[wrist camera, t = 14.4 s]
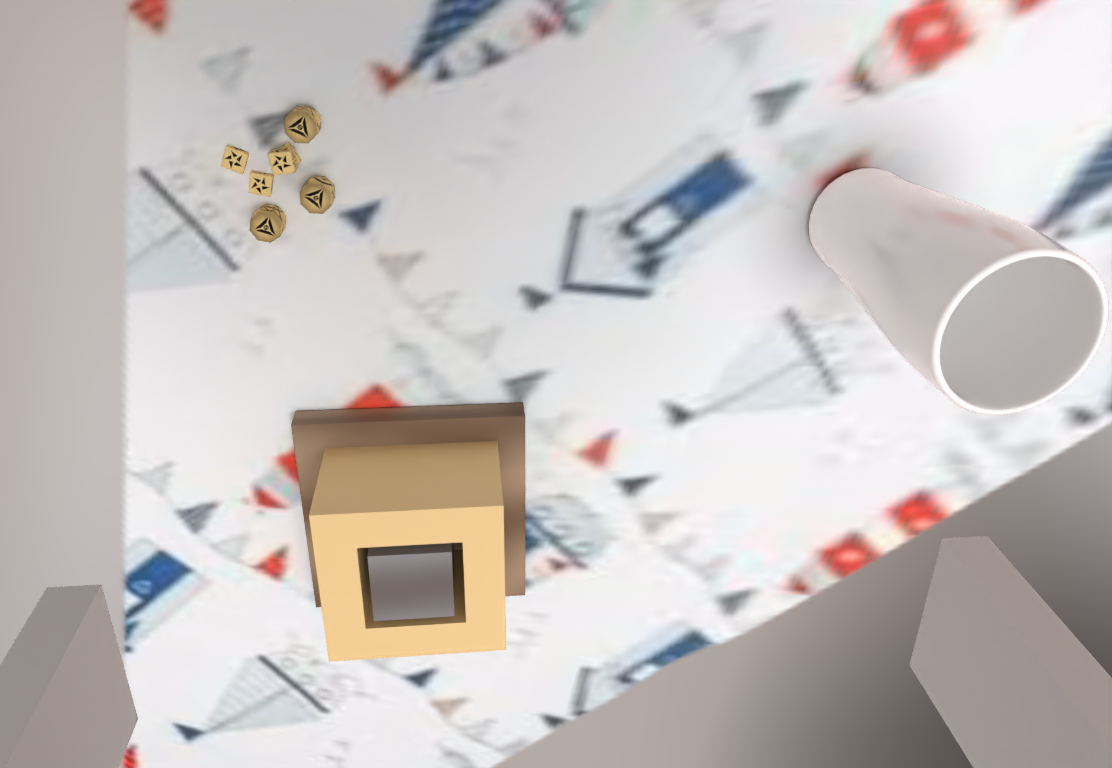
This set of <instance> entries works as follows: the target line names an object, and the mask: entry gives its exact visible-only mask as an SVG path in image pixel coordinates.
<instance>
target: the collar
mask: <svg viewBox="0 0 1112 768" xmlns="http://www.w3.org/2000/svg"><path fill="white" fill-rule="evenodd" d="M309 520H310V527H311V534H312V542H313V549H314V556H315V563H316V571H317V578H318V585H319V592H320V600H321V607H322V614H323V621H324V629H325V636H326V643H327V651H328V658H329V662H330V661H345V660H360V659H375V658H390V657H405V656H420V655H435V654H450V653H465V652H480V651H495V650H506V613H505V557H504V505H503V494H502V483H501V473H500V462H499V451H498V441H486V442H463V443H440V444H417V445H394V446H371V447H349V448H326V449H325V450H324V454H323V458H322V463H321V467H320V471H319V475H318V480H317V484H316V488H315V492H314V496H313V501H312V505H311V509H310V513H309ZM460 542H463V549H461V550H454V603H455V616H450V617H433V618H417V619H400V620H384V621H374V617H373V608H372V598H371V588H370V578H369V568H368V558H367V556H368V548H369V547H387V546H405V545H423V544H441V543H460Z"/></svg>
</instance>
